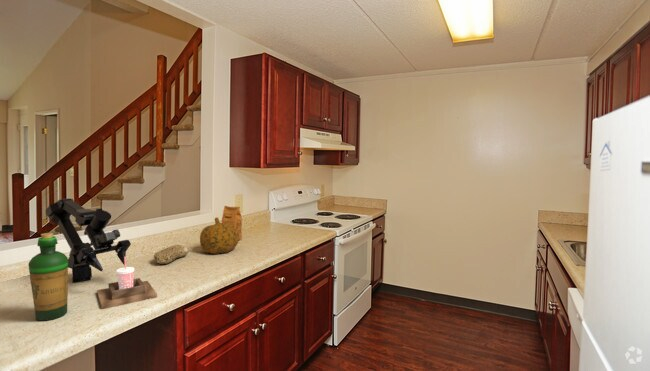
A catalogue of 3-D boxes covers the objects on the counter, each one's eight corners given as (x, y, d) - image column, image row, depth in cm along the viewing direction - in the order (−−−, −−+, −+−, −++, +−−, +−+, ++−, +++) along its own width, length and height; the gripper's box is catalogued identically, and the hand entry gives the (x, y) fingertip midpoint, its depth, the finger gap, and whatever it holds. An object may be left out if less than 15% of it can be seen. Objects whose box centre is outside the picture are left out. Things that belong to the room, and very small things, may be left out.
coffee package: (228, 237, 235) (227, 204, 233) (244, 239, 230) (243, 205, 228) (218, 240, 225) (217, 206, 223) (235, 242, 221) (234, 207, 219)
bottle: (26, 325, 113) (20, 238, 110) (37, 311, 123) (32, 231, 120) (66, 319, 117) (62, 235, 115) (74, 306, 127) (70, 229, 124)
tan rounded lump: (174, 256, 195) (142, 258, 177) (178, 242, 195) (147, 243, 177) (191, 264, 189) (160, 267, 171) (195, 250, 189) (165, 251, 171)
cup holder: (102, 309, 125) (101, 297, 125) (97, 293, 139) (96, 282, 139) (157, 297, 136) (156, 286, 135) (147, 283, 150) (147, 273, 150)
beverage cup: (129, 288, 142) (127, 253, 141) (138, 290, 139) (137, 255, 138) (113, 293, 136) (112, 257, 135) (123, 296, 133) (122, 259, 132)
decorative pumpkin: (242, 252, 195) (238, 216, 193) (202, 259, 188) (197, 222, 186) (238, 245, 214) (234, 212, 212) (201, 251, 207) (197, 217, 205)
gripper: (79, 228, 134) (96, 261, 129) (127, 220, 150) (144, 250, 145) (69, 246, 138) (85, 278, 134) (117, 236, 155) (133, 265, 150)
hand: (114, 267), depth 141 cm, fingers open, 9 cm apart
